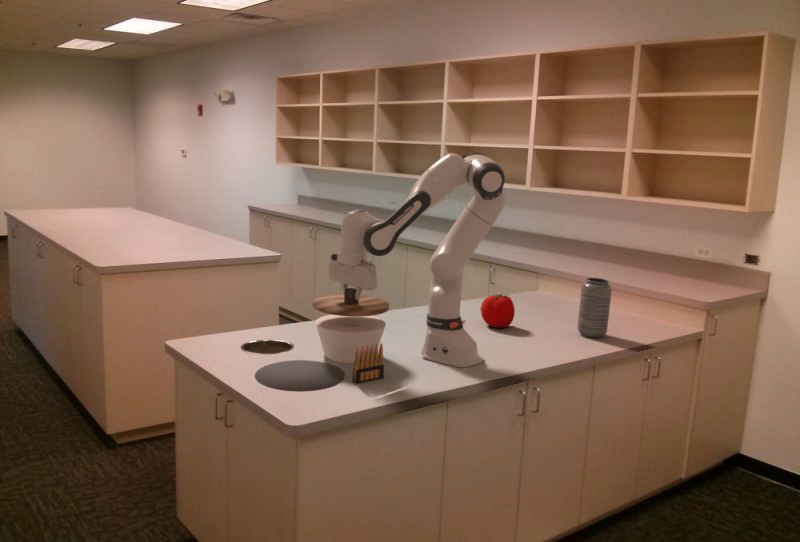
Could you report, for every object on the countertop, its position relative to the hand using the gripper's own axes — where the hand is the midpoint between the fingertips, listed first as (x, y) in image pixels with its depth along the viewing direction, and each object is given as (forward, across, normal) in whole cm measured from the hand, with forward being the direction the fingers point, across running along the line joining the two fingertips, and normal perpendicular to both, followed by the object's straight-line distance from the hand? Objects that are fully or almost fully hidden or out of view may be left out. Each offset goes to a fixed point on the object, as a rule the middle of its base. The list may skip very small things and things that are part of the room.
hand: (351, 297), depth 233 cm
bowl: (+21, 0, 0) cm, 21 cm away
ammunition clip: (+21, -22, +13) cm, 33 cm away
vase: (+20, -43, -94) cm, 105 cm away
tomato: (+21, -10, -74) cm, 78 cm away
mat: (+21, -5, +26) cm, 34 cm away
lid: (+3, 0, 0) cm, 3 cm away
